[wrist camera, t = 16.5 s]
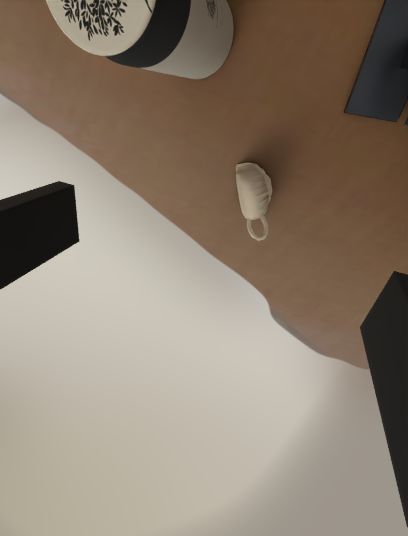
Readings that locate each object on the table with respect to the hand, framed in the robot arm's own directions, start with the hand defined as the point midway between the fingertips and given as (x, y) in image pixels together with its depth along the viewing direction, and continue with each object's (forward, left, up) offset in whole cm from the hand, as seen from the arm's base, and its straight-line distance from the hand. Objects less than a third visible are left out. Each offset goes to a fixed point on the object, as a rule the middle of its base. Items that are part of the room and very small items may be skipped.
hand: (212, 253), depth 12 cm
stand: (-11, +8, -27) cm, 30 cm away
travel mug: (-10, -11, -27) cm, 31 cm away
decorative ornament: (+5, -1, -27) cm, 27 cm away
